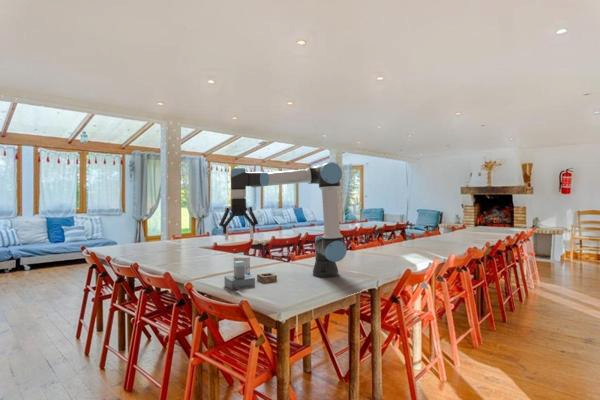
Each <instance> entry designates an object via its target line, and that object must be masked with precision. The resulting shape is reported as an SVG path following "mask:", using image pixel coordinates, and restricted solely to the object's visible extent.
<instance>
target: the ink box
mask: <svg viewBox="0 0 600 400" xmlns="http://www.w3.org/2000/svg"><path fill="white" fill-rule="evenodd" d="M234 261H243V262H244V274H248V275H250V276H251V257H250V256H234V257H233V262H234Z"/></svg>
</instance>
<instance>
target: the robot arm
mask: <svg viewBox="0 0 600 400" xmlns="http://www.w3.org/2000/svg"><path fill="white" fill-rule="evenodd" d="M342 177H343V171H342V167H340V165H339V164H338V163H337V162H334V161H328V162H324V163H321V164H318V165H316V166H315V165H314V166H310V167H306V169H296V170H295V169H293V170H285V171H284V170H283V171H282V170H281V171H272V172H271V171H270V172H268V171H267V172H266V171H252V172H251V171H246V168H245V167H233V168H231V170H230V190H231V191H230V196H231V199H230V200H231V203H230V204H231V205H230V206H231V207H225V208H224V213H223V215H222V218H221V220H220V222H219V227H222V233H223V234H224V241H229V227H228V225H229V224H230V223H231V221H232V220H233V219H234V218H235V217H239V216H240V217H244V218H245V219H246V221H247V222H248V223H249V224H250V225H249V238H250V239H254V232H255V231H256V228H255V227H256V225H258V224H259V222H258V220H257V218H256V214H254V211H253V207H252V206H248V207H247V198H246V197H247V187H251V188H260V187H262V188H263V187H270V186H281V185H294V184H305V183H306V184H308V185H312V184H313V185H318V188H319V189H320V191H321V197H322V212H323V213H322V215H323V216H322V217H323V228H324V229H323V231H324V233H323V235H317V236H315V240H314V246H315V249H314V250H315V262H314V264H313V270H312V276H314V277H319V278H332V277H336V276H338V275H339V270H338V265H337V262H340V261H342V260H343V259H344V258H345V257H346V255H347V250H348V249H347V245H346V244H345V243H344V236H343V235H344V234H343V235H342V234H341V227H340V210H339V194H338V193H339V191H338V190H339V189H340V188H341V179H342ZM230 211H231V213H230ZM247 212H248V213H249V215H248V214H247ZM229 213H230V215H229ZM228 215H229V217H228ZM249 216H250V217H251V218H250V217H249Z"/></svg>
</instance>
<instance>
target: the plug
mask: <svg viewBox="0 0 600 400" xmlns="http://www.w3.org/2000/svg"><path fill="white" fill-rule="evenodd" d="M233 275H234V278H235V279H239V278H245V275H244V262H243V261H234V260H233Z"/></svg>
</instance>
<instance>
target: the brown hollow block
mask: <svg viewBox="0 0 600 400" xmlns="http://www.w3.org/2000/svg"><path fill="white" fill-rule="evenodd" d="M256 280H257V281H259V282H261V284H266V283H272V282H277V281H278V275H277V274H274V273H272V272H265V273H257V274H256Z"/></svg>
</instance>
